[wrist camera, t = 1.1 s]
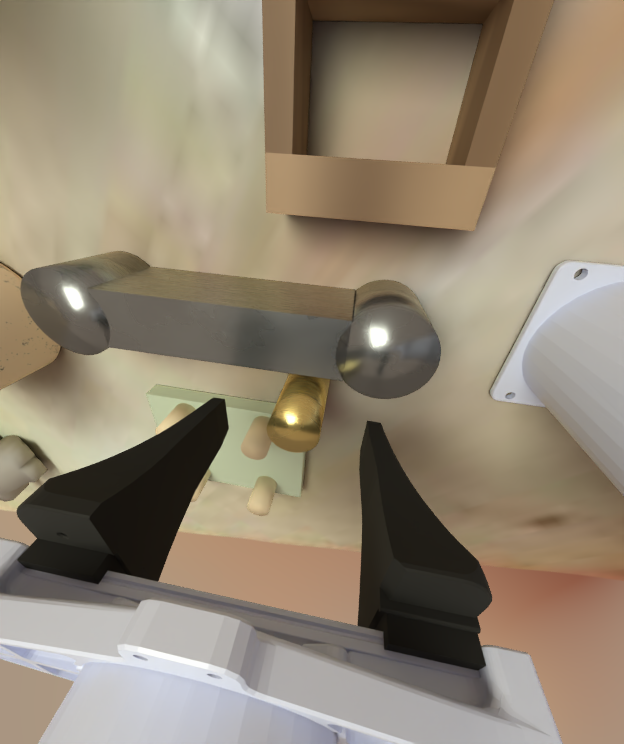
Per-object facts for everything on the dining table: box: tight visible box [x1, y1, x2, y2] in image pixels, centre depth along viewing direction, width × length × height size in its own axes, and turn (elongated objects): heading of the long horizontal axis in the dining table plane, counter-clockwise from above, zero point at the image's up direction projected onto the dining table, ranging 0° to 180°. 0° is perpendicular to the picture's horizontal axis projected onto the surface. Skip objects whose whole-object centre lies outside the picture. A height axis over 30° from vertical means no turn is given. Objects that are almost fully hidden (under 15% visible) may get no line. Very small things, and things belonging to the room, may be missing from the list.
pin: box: [267, 373, 330, 453], centre depth 16 cm, size 3×3×6 cm
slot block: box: [262, 0, 554, 231], centre depth 10 cm, size 8×8×3 cm
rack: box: [146, 385, 306, 516], centre depth 22 cm, size 12×9×4 cm
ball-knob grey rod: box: [20, 251, 441, 399], centre depth 15 cm, size 20×4×5 cm, turn 86°
